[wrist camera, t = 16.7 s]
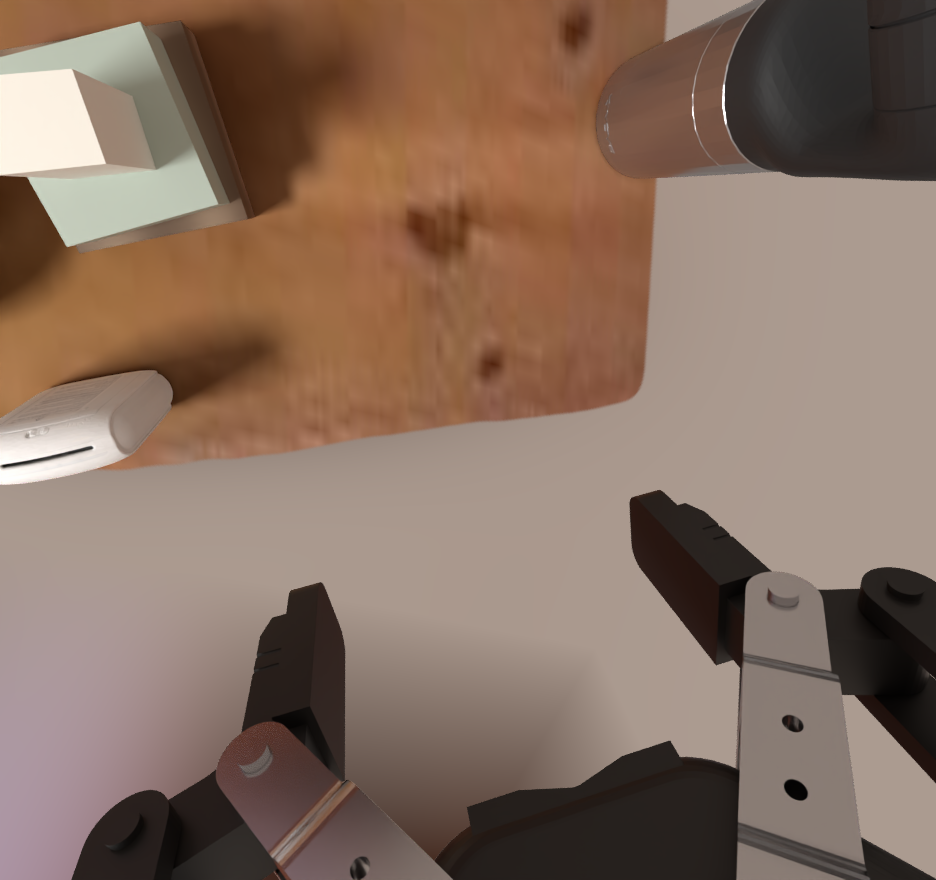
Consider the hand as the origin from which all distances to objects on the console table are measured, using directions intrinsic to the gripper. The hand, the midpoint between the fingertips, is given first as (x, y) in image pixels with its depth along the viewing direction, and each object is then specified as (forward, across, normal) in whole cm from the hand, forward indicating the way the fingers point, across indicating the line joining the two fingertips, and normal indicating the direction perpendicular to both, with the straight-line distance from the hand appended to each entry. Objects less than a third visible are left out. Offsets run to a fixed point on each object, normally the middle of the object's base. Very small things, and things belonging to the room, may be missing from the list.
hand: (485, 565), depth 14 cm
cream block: (+31, +15, -14) cm, 37 cm away
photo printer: (+38, +25, +3) cm, 46 cm away
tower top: (+35, +15, -14) cm, 40 cm away
